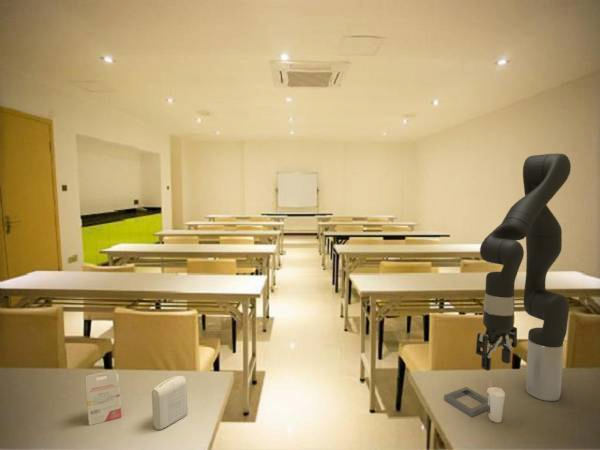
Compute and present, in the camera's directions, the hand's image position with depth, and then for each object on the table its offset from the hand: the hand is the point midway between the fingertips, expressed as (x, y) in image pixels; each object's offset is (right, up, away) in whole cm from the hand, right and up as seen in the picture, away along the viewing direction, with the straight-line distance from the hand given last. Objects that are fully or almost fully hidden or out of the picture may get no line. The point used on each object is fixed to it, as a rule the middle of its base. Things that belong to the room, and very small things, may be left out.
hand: (495, 365), depth 106 cm
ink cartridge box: (-113, -17, +5) cm, 114 cm away
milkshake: (0, -16, +2) cm, 16 cm away
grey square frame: (-4, -15, +9) cm, 18 cm away
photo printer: (-93, -17, +3) cm, 94 cm away
